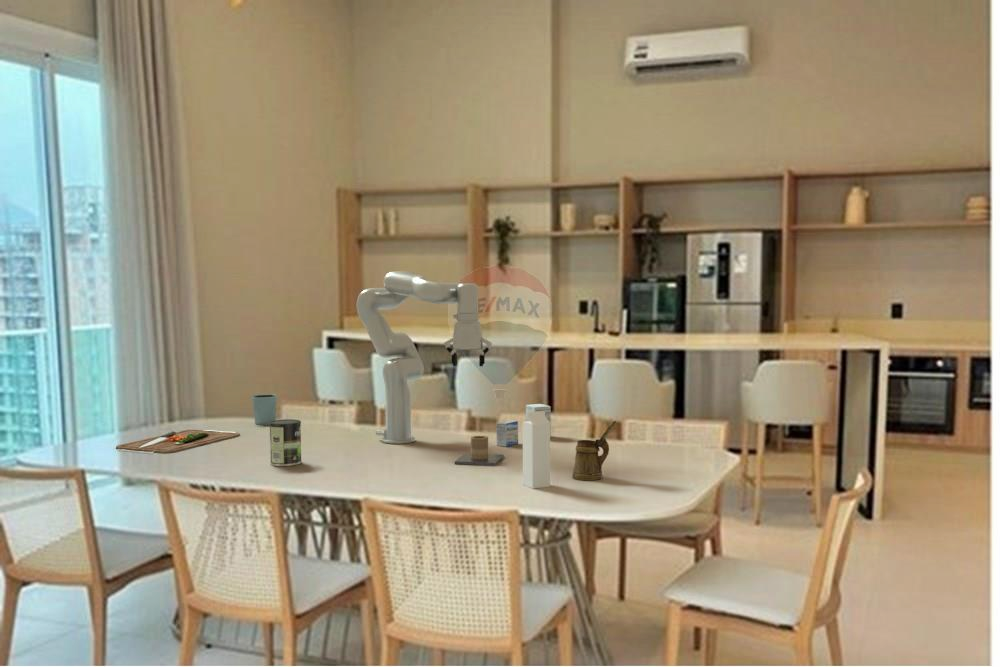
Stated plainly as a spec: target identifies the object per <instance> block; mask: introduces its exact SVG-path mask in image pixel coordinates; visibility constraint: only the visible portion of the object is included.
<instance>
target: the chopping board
mask: <svg viewBox="0 0 1000 667" xmlns="http://www.w3.org/2000/svg"><path fill="white" fill-rule="evenodd" d="M238 437H241V433H239V432H236V431H223V430H221V431H220V430H210V429H186V430H180V431H174V430H173V431H170V432H168V433H165V434H162V435H159V436H153V437H149V438H145V439H144V438H143V439H140V440H135V441H132V442H127V443H123V444H118V445H116V446H115V449H116V450H117V452H122V453H123V452H125V453H135V454H136V453H137V454H145V455H146V454H148V455H153V454H155V453H156V454H174V453H178V452H183V451H186V450H190V449H194V448H199V447H202V446H206V445H210V444H215V443H218V442H221V441H227V440H231V439H234V438H238Z"/></svg>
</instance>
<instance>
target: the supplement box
mask: <svg viewBox="0 0 1000 667" xmlns="http://www.w3.org/2000/svg"><path fill="white" fill-rule="evenodd" d="M551 408H552V407H551V406H550V405H547V404H543V403H535V404H534V403H533V404H526V405H525V419H526V418H527V413H528V412H538V411H545V417H546V418H547V419H548V421H549V422H550V439H551V435H552V434H551V429H552V428H551V425H552V424H551V423H552V422H551V416H552V415H551V411H552V410H551Z"/></svg>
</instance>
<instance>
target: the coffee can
mask: <svg viewBox="0 0 1000 667" xmlns="http://www.w3.org/2000/svg"><path fill="white" fill-rule="evenodd" d="M301 424H302V421H301V420H299V419H292V418H291V419H290V418H286V419H276V420H274V421H271V422H269V456H270V457H269V459H270V466H273V467H274V466H275V467H291V466H296V465H300V464H302V437H301V436H302V432H301V431H302V430H301V428H302V427H301Z"/></svg>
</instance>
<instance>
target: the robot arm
mask: <svg viewBox="0 0 1000 667" xmlns="http://www.w3.org/2000/svg"><path fill="white" fill-rule="evenodd" d="M382 282H383V283H382V284H383V286H384V287H371V288H367V289H366V288H365V289H364V290H363V291H361V292H360V293H359V295H358V296H357V300H356V306H355V307H356V312H357V316H358V317H359V320H360V321H361V323H362V325H363V326H364V328H365V330H366V333H367V335H368V337H369V338H370V341H371V343H372V345H373V347H374V349H375V351H376V353H377V355H378V356H379V357H381V359H382V358H384V359H389V358H390V359H389V360H388V361H386V362H385V363H384V365H383V367H382V378H383V382H384V383H383V384H384V389H385V390H384V394H385V429H376V430H375V435H376V436H383V437H382V438H381V441H382V443H384V444H390V445H391V444H393V445H397V444H398V445H402V444H409V443H414V442H416V437H415V436H412V395H411V394H412V393H411V388H410V387H409V384H408V383H410V382H415V381H417V380H419V379H421V378H422V377H423V375H424V371H425V370H424V369H425V367H424V366H425V365H424V363H423V360H422V359H421V356H420V354H419V352H418V350H417V348H416V345H415V344H414V342H413V340H412V338H411V337H410V336H409V335H408V334H406V333H405V332H401V331H400V332H394V331H393V330H392V329H391V327H390V325H389V322H388V321H387V319H386V317H384V316H383V314H382V313H380V312H379V311H383V310H384V311H386V310H387V311H389V310H394V309H395V308H398V307H399V306H400V305H401V304H402V303H403V302H405V301H406V300H407V299H408V298H415V299H417V300H419V301H422V302H427V303H432V304H437V305H446V304H447V305H448V304H449V305H452V304H456V305H457V306H456V309H457V313H456V314H453V319H456V321H455V322H454V327H453V335H452V338H450V339H448V340H447V341H444V343H443V344H444V347H445V349H446V351H448V352H449V354H450V355H451V364H452V366H453V367H455V366H458V355H457V352H458V351H478V353H479V356H478V358H479V362H478V363H479V364H478V365H479V367H483V366H484V365H485V363H486V362H485V356H486V354H487V353H488V352H489V351H490V349H491V348H492V345H493V343H492V342H491V341H489V340H487V339H486V338H484V337H483V331H482V324H481V322H480V321H479V286H478V284H477V283H470V282H467V283H460V282H457V283H456V282H436V281H435V282H434V281H431V280H427V278H425V276H424V275H419V274H415V273H414V272H411V271H409V270H407V271H406V270H394V271H393V270H392V271H390V272H388V273H386V275H385V276H384V277H383V281H382ZM450 344H452V347H451V346H450ZM483 344H485V345H486V346H485V348H484V349H483Z"/></svg>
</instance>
